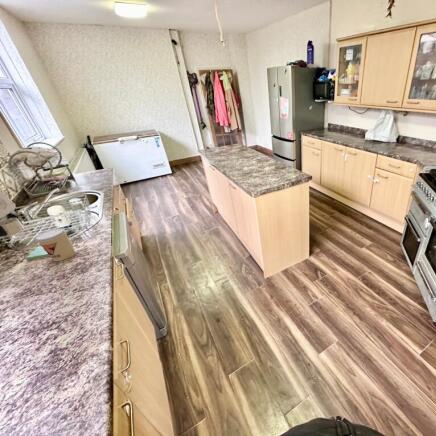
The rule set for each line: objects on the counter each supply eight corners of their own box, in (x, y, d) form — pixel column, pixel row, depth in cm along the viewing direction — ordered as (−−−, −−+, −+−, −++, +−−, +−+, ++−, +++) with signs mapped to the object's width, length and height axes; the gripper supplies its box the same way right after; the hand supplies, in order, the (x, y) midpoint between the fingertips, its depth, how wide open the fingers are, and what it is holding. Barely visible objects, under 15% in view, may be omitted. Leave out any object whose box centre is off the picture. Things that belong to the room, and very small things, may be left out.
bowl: (-7, 239, 85) (-16, 228, 82) (7, 229, 91) (0, 219, 88) (16, 235, 86) (8, 225, 84) (29, 226, 92) (22, 216, 90)
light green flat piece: (27, 260, 103) (23, 255, 102) (41, 247, 112) (38, 242, 110) (58, 254, 106) (54, 249, 104) (70, 242, 114) (66, 237, 113)
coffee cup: (45, 262, 101) (28, 239, 96) (65, 249, 110) (51, 227, 104) (63, 263, 100) (48, 240, 94) (83, 249, 108) (69, 228, 102)
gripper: (-32, 194, 73) (4, 241, 81) (10, 177, 87) (37, 218, 96) (-63, 198, 71) (-23, 245, 80) (-15, 179, 86) (15, 221, 95)
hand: (10, 230), depth 88 cm, fingers closed on bowl, 7 cm apart
